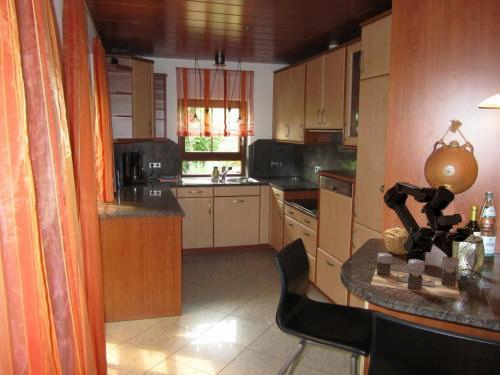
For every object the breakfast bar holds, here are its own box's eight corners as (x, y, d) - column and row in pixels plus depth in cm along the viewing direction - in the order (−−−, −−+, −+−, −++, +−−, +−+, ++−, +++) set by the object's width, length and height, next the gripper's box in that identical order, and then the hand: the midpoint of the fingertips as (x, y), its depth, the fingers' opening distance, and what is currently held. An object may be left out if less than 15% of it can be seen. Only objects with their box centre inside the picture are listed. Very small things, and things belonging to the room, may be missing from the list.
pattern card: (396, 275, 150) (396, 273, 150) (433, 281, 146) (433, 279, 145) (395, 281, 144) (395, 279, 144) (433, 287, 140) (434, 285, 140)
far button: (414, 273, 142) (416, 258, 141) (426, 278, 138) (428, 263, 137) (403, 275, 140) (405, 260, 139) (415, 281, 136) (417, 265, 135)
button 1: (384, 266, 154) (385, 252, 154) (394, 270, 150) (395, 256, 149) (373, 267, 152) (374, 253, 151) (383, 272, 148) (384, 258, 147)
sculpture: (378, 249, 185) (380, 225, 183) (400, 247, 189) (402, 223, 187) (395, 257, 174) (398, 232, 173) (418, 255, 179) (421, 230, 177)
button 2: (447, 270, 146) (449, 255, 146) (460, 275, 142) (462, 260, 141) (437, 272, 144) (439, 257, 143) (450, 277, 140) (451, 261, 139)
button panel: (375, 272, 157) (376, 258, 156) (456, 284, 147) (458, 269, 146) (370, 288, 142) (371, 272, 141) (460, 303, 132) (462, 286, 131)
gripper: (421, 204, 144) (436, 246, 134) (471, 204, 146) (489, 245, 137) (407, 222, 152) (420, 261, 143) (455, 221, 155) (471, 260, 146)
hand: (450, 257), depth 142 cm, fingers closed
